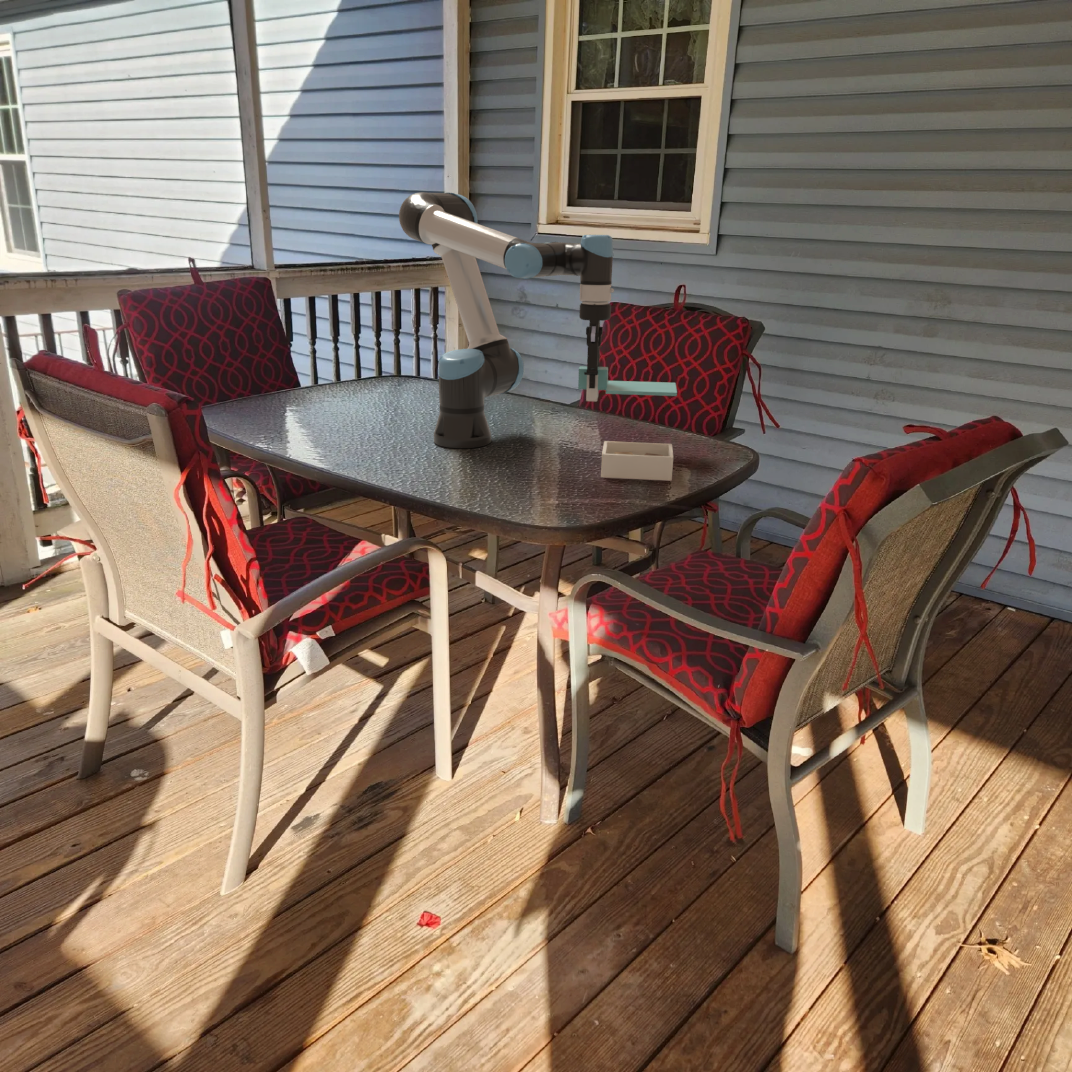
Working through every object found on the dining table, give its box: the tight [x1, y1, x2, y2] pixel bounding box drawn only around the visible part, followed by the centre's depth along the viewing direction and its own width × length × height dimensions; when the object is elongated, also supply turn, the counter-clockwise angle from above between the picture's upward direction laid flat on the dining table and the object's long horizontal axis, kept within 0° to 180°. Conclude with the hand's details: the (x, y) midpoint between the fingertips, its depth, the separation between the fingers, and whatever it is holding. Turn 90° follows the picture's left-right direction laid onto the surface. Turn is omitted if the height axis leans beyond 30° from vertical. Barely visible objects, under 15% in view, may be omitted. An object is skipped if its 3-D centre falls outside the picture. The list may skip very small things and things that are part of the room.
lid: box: [577, 365, 678, 397], centre depth 211 cm, size 24×13×5 cm, turn 83°
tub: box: [600, 440, 674, 482], centre depth 198 cm, size 16×12×6 cm
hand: (592, 398), depth 214 cm, fingers closed on lid, 4 cm apart
